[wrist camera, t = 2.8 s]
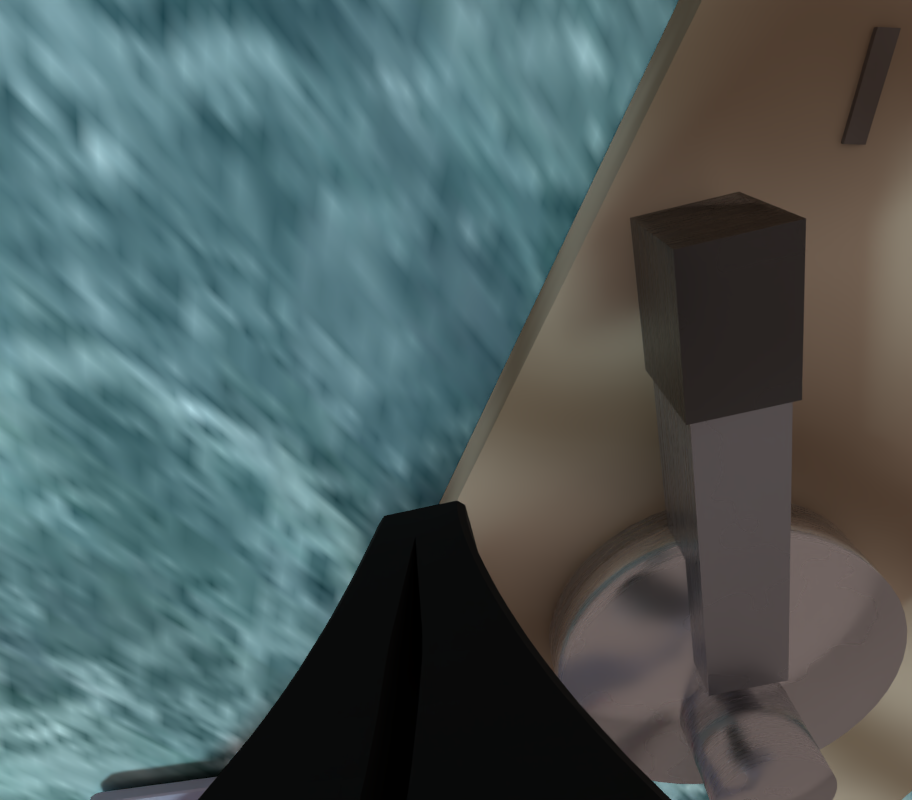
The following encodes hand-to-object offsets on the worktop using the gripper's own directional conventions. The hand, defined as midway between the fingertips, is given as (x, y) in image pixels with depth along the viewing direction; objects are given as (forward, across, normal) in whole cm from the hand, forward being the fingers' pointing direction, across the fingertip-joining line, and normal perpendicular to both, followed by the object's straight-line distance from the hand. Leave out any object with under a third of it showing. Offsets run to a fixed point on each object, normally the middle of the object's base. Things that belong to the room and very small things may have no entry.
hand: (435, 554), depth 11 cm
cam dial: (+3, -5, +4) cm, 7 cm away
